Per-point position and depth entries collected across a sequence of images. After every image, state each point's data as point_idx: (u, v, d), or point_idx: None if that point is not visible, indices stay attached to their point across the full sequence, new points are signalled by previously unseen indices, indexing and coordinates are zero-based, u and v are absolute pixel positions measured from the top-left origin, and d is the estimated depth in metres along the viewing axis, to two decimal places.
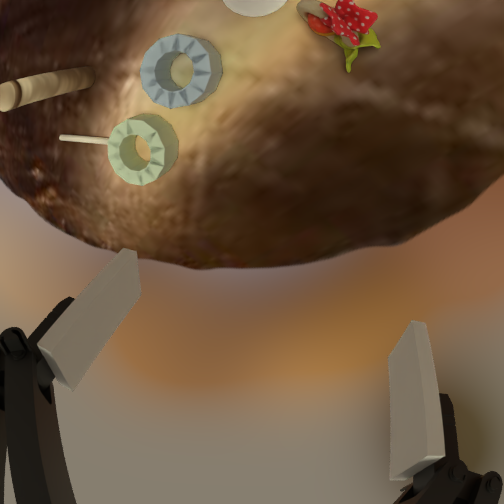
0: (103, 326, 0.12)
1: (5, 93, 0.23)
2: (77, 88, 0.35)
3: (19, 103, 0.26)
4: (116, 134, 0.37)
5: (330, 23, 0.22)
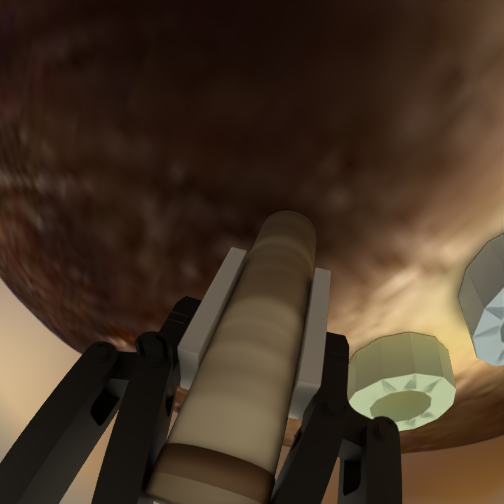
0: None
1: None
2: None
3: None
4: (380, 387, 0.20)
5: None
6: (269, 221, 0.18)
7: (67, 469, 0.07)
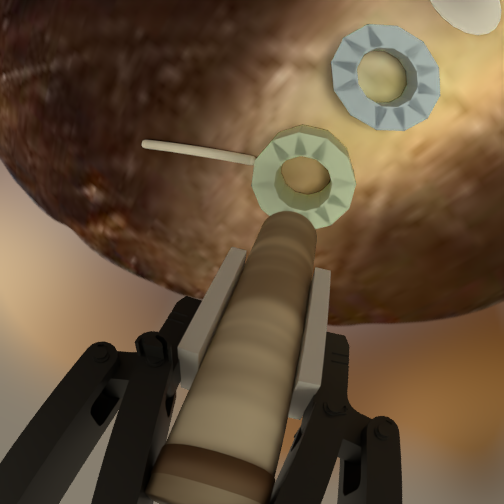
0: None
1: None
2: None
3: None
4: (274, 152, 0.26)
5: None
6: (269, 222, 0.18)
7: (67, 469, 0.07)
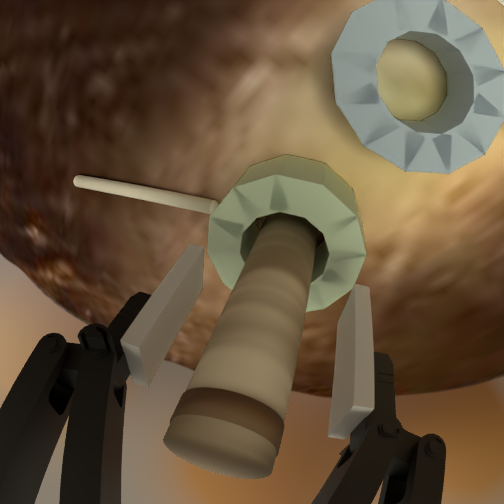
0: (176, 320, 0.13)
1: (233, 461, 0.08)
2: None
3: None
4: (237, 205, 0.17)
5: None
6: None
7: (37, 461, 0.07)
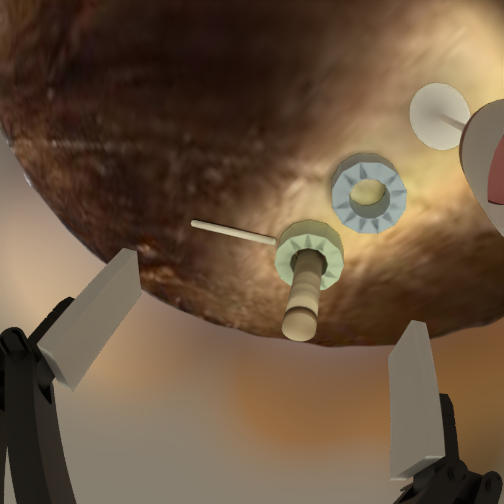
0: (104, 326, 0.12)
1: (304, 328, 0.32)
2: None
3: None
4: (290, 245, 0.41)
5: None
6: None
7: None
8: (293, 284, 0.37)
